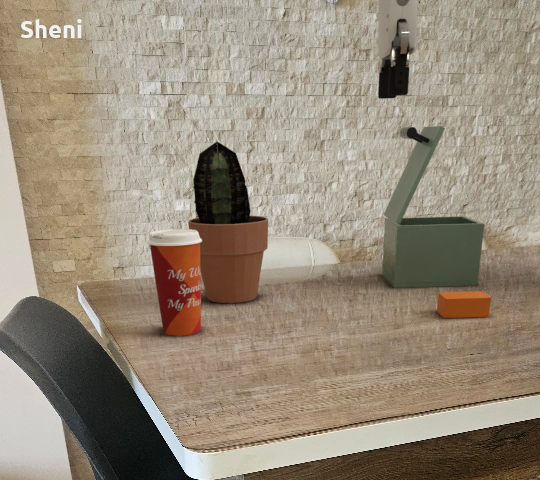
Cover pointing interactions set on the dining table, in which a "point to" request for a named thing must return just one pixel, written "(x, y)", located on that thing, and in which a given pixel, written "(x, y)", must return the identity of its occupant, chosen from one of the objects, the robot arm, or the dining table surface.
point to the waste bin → (432, 251)
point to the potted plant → (227, 228)
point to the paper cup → (177, 279)
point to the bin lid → (413, 169)
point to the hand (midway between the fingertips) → (392, 96)
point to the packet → (463, 304)
